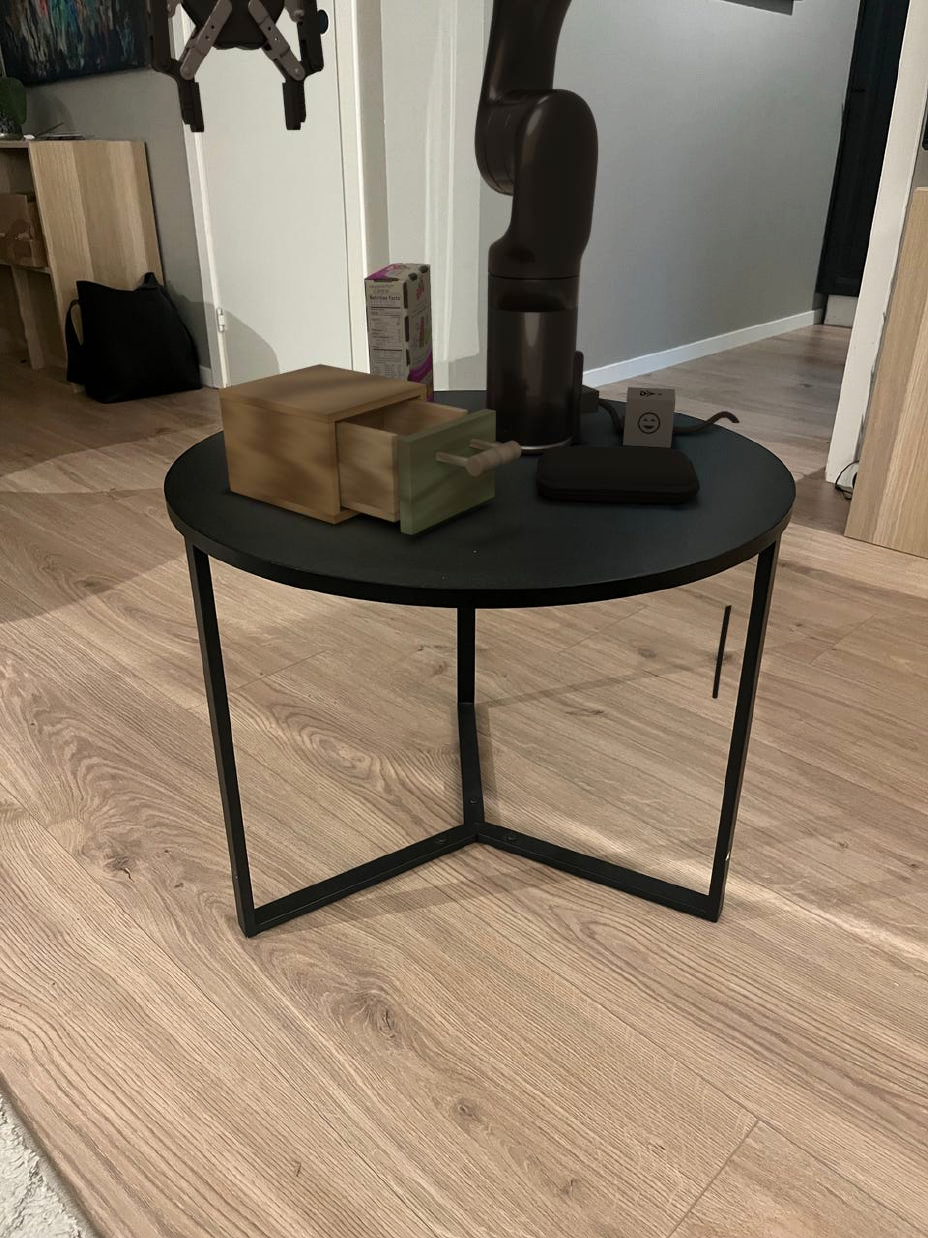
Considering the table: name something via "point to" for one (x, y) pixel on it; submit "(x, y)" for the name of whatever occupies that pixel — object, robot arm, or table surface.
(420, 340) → the candy bar box
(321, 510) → the cabinet
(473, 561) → the table surface
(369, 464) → the drawer
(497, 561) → the table surface
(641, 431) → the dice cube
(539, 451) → the robot arm
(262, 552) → the table surface
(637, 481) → the carrying case
